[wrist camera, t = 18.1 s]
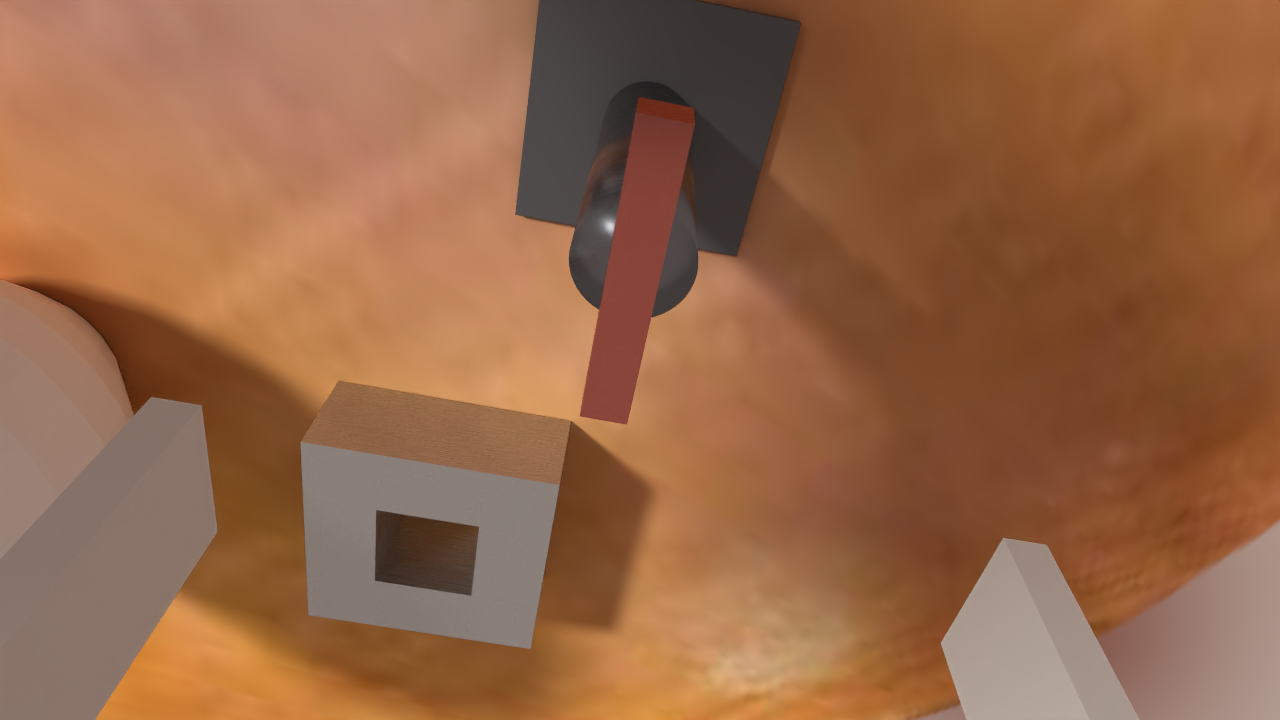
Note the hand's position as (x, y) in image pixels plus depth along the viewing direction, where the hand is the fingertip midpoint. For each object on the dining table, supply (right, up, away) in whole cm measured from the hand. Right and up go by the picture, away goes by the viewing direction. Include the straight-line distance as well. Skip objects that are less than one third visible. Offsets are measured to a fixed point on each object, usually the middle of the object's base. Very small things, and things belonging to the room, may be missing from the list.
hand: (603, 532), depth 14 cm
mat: (+1, +13, +20) cm, 24 cm away
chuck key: (+1, +13, +20) cm, 24 cm away
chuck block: (-10, -4, +32) cm, 33 cm away
